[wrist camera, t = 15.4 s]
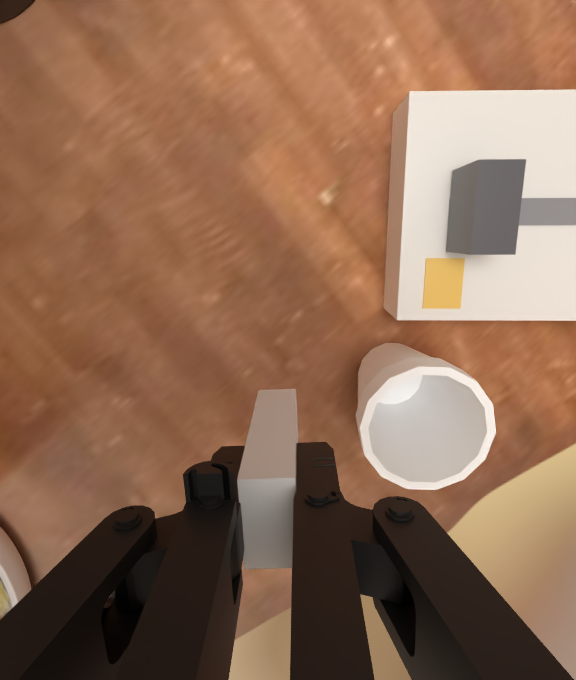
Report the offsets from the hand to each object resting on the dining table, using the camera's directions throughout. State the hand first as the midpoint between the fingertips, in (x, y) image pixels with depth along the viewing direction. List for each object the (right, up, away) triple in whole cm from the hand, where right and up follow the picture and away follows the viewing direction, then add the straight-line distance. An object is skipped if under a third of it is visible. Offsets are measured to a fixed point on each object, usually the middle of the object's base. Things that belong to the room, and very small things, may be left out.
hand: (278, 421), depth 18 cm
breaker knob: (+14, +13, +16) cm, 25 cm away
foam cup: (+10, 0, +26) cm, 28 cm away
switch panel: (+20, +15, +22) cm, 33 cm away
